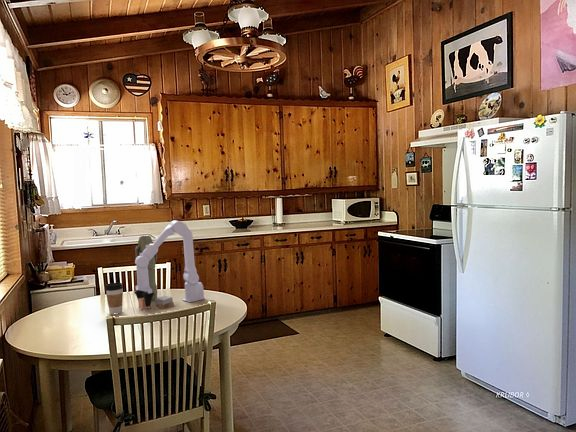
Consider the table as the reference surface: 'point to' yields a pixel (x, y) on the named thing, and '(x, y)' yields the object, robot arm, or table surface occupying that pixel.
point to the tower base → (164, 305)
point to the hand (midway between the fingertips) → (144, 305)
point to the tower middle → (164, 300)
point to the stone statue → (151, 266)
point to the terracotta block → (142, 303)
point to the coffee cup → (114, 297)
